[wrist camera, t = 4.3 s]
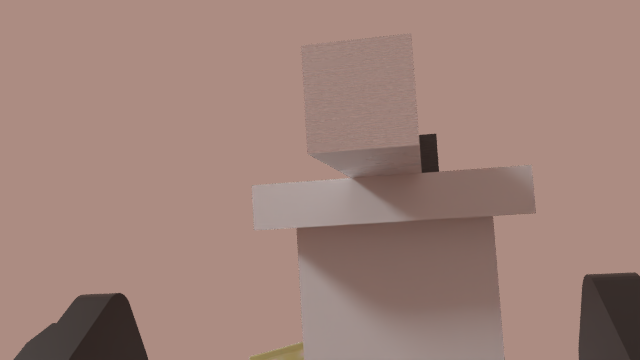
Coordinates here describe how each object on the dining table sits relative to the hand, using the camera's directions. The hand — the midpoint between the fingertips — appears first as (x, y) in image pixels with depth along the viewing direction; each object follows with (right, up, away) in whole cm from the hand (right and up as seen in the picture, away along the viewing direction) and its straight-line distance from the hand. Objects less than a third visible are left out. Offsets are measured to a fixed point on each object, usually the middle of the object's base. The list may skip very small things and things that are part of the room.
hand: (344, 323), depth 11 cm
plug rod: (+3, +3, +18) cm, 18 cm away
